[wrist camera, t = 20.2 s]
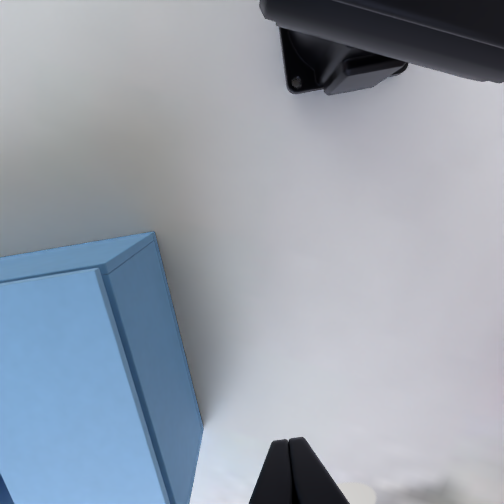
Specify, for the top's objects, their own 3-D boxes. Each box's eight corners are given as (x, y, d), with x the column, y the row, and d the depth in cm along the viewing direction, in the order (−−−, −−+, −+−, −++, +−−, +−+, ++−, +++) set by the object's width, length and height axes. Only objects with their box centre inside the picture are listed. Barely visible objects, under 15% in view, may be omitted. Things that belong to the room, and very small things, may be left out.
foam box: (154, 231, 20) (105, 262, 13) (203, 428, 24) (184, 531, 17) (-72, 269, 21) (-227, 317, 14) (10, 455, 25) (-82, 564, 18)
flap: (99, 267, 13) (94, 270, 13) (181, 539, 17) (179, 547, 16) (-71, 294, 14) (-80, 298, 13) (45, 554, 17) (40, 563, 17)
